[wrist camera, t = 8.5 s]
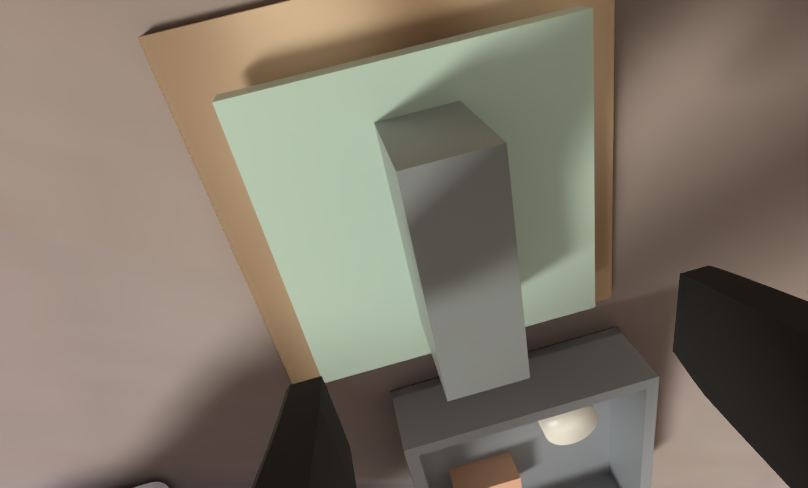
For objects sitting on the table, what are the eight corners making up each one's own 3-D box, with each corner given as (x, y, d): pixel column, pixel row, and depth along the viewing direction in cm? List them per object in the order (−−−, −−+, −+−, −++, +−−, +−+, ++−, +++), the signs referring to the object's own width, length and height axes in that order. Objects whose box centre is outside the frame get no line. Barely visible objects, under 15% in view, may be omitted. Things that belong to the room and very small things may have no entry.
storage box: (431, 524, 26) (446, 585, 24) (390, 391, 21) (403, 451, 19) (614, 469, 27) (647, 523, 24) (617, 326, 22) (659, 376, 19)
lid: (321, 352, 19) (328, 473, 15) (220, 88, 14) (184, 149, 10) (574, 282, 20) (655, 378, 15) (565, 2, 15) (682, 24, 10)
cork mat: (294, 380, 20) (293, 388, 20) (141, 35, 13) (137, 37, 13) (606, 293, 21) (611, 298, 20) (608, -78, 14) (615, -78, 14)
